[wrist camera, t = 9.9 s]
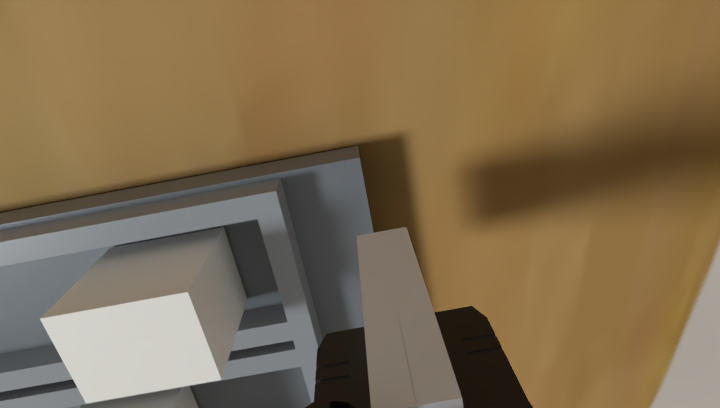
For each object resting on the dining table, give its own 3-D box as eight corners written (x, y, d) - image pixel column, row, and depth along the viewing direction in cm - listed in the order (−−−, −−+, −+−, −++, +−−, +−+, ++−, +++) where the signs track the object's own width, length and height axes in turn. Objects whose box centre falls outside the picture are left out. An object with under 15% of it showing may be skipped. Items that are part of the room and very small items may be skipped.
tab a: (110, 247, 16) (39, 318, 12) (223, 226, 16) (187, 291, 12) (141, 318, 17) (86, 403, 13) (247, 299, 17) (221, 379, 13)
